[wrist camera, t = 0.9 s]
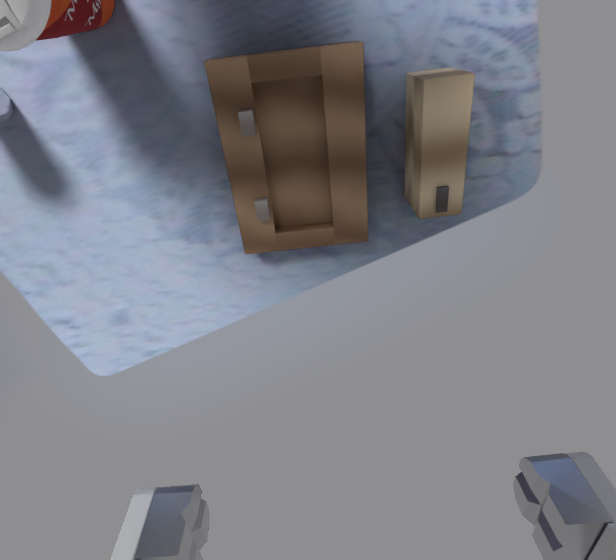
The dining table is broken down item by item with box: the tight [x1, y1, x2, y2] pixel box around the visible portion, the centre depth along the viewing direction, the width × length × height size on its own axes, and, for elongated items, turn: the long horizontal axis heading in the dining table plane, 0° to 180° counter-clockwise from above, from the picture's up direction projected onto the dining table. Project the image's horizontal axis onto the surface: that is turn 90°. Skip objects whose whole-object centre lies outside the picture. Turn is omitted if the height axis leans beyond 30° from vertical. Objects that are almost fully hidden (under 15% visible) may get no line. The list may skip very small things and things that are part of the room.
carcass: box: [204, 41, 368, 254], centre depth 38 cm, size 18×13×4 cm
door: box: [405, 67, 475, 219], centre depth 37 cm, size 12×4×6 cm, turn 7°
